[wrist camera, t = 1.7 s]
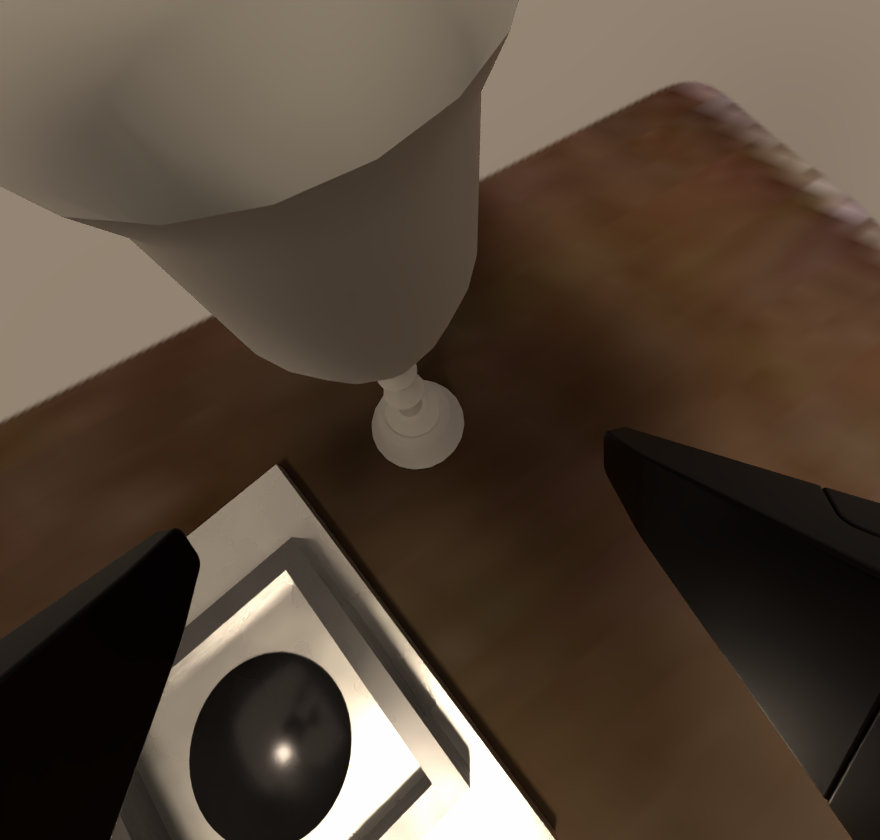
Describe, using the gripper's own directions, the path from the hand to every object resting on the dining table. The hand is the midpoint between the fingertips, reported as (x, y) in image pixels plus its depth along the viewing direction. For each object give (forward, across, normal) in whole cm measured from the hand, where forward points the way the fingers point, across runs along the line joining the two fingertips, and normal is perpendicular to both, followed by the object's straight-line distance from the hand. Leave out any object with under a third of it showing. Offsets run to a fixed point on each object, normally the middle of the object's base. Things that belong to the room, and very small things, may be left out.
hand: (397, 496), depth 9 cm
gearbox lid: (+4, +9, +14) cm, 17 cm away
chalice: (+13, 0, +5) cm, 14 cm away
